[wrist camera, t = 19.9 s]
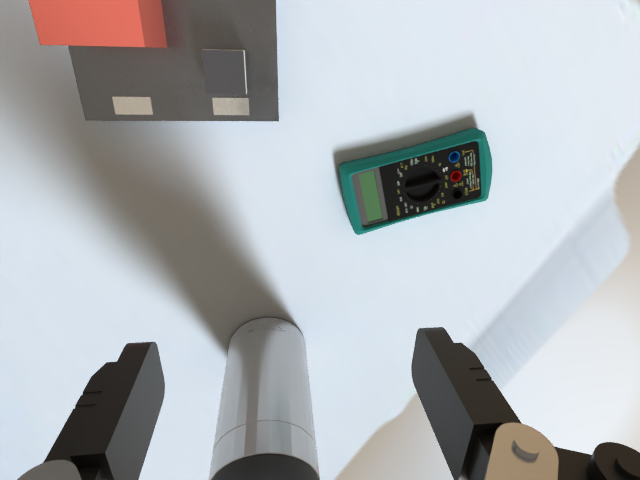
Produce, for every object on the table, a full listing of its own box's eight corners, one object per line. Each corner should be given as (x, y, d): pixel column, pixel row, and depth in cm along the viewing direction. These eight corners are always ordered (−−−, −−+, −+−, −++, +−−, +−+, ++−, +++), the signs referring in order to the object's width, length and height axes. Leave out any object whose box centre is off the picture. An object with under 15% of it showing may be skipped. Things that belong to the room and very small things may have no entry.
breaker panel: (278, 117, 36) (278, 122, 34) (95, 116, 34) (82, 121, 32) (273, -89, 29) (273, -101, 27) (47, -102, 28) (26, -116, 25)
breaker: (248, 91, 33) (246, 94, 30) (210, 90, 32) (205, 94, 30) (246, 50, 31) (243, 49, 29) (207, 49, 31) (200, 48, 28)
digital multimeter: (483, 191, 42) (497, 201, 39) (349, 227, 42) (354, 239, 39) (479, 124, 39) (494, 129, 36) (334, 163, 39) (339, 170, 36)
